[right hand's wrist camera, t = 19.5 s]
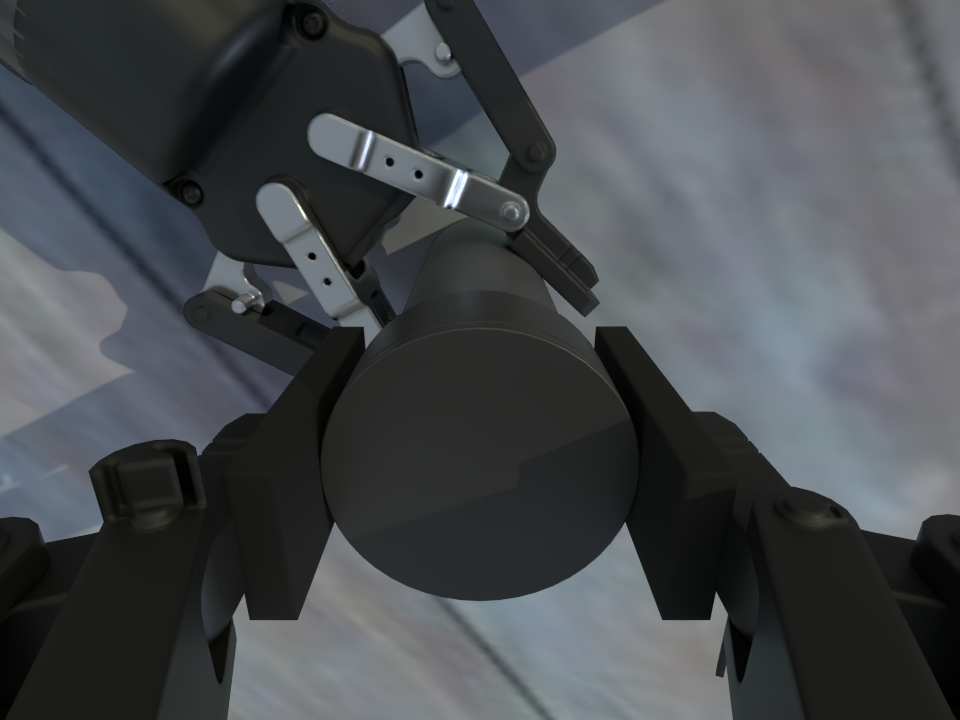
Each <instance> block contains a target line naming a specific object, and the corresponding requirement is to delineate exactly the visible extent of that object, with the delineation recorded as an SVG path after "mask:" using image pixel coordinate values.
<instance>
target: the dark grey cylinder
mask: <svg viewBox="0 0 960 720" xmlns="http://www.w3.org/2000/svg"><path fill="white" fill-rule="evenodd" d="M473 290H486V291H500V292H505V293H510V294H515V295H519V296H522V297H525V298H528V299H531V300H534V301H536V302H538V303H541V304H543V305H545V306H547V307H549V308H551V309H552V310H554V311H555V312H557V310H556V307H555V305H554V303H553V301H552V298H551V296H550V294H549V291H548V289H547V287H546V285H545V282H544V280H543V278H542V277H541V276H540V275H539V274H538V273H537V272H536V271H535V270H534V268H533V267H531V266H530V265H529V264H528V263H527V262H526V261H525V260H523V259H522V258H521V257H520V256H519V255H518V254H517V253H516V252H515V251H514V250H513V249H512V248H511V247H510V246H509V244H508V240H507V237H506V233H505V232H504V231H503V230H500V229H498V228H496V227H493V226H491V225H489V224H486V223H484V222H482V221H479V220H477V219H475V218H472V217H469V218H465V219H462V220H459V221H457V222H455V223H453V224H451V225H450V226H448V227H447V228H446V229H444V230H443V231H442V232H441V233H440V234H439V236H438V237H437V238H436V239H435V241H434V243H433V244H432V246H431V248H430V251H429V253H428V255H427V257H426V260H425V262H424V264H423V266H422V269H421V271H420V273H419V275H418V278H417V280H416V282H415V285H414V287H413V289H412V291H411V294H410V296H409V298H408V300H407V303H406V305H405V307H404V309H403V312H405V311H406V310H408V309H409V308H411V307H413V306H415V305H417V304H420V303H422V302H424V301H426V300H429V299H432V298H435V297H438V296H441V295H445V294H450V293H455V292H460V291H473ZM403 312H402V313H403ZM557 313H558V312H557Z"/></svg>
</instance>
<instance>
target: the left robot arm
mask: <svg viewBox="0 0 960 720" xmlns="http://www.w3.org/2000/svg"><path fill="white" fill-rule="evenodd" d="M0 63H1V64H2V65H3V66H4V67H5V68H7V69H8V70H9V71H11V72H12V73H13V74H15V75H16V76H18V77H19V78H21V79H22V80H24V81H25V82H27V83H29V84H31V85H33V86H35V87H36V88H37V89H38V90H40V91H41V92H42V93H43V94H45V95H46V96H47V97H48V98H50V99H51V100H52V101H53V102H54V103H56V104H57V105H58V106H59V107H61V108H62V109H63V110H64V111H66V112H67V113H68V114H69V115H70V116H72V117H73V118H74V119H76V120H77V121H78V122H79V123H81V124H82V125H83V126H84V127H85V128H87V129H88V130H89V131H90V132H92V133H93V134H94V135H95V136H96V137H98V138H99V139H100V140H101V141H103V142H104V143H105V144H106V145H108V146H109V147H110V148H111V149H112V150H114V151H115V152H116V153H117V154H119V155H120V156H121V157H122V158H124V159H125V160H126V161H127V162H128V163H130V164H131V165H132V166H133V167H135V168H136V169H137V170H138V171H139V172H141V173H142V174H143V175H144V176H146V177H147V178H148V179H149V180H151V181H152V182H153V183H154V184H155V185H157V186H158V187H159V188H161V189H162V190H163V191H165V192H166V193H168V194H169V195H171V196H172V197H174V198H175V199H177V200H178V201H180V202H181V203H183V204H184V205H186V206H187V207H188V208H189V209H190V210H192V211H193V213H194V214H195V215H196V216H197V217H198V219H199V220H200V222H201V223H202V225H203V226H204V228H205V230H206V232H207V234H208V236H209V238H210V240H211V242H212V243H213V245H214V246H215V247H216V248H217V249H218V252H217V254H216V257H215V259H214V262H213V265H212V267H211V270H210V272H209V275H208V277H207V280H206V282H205V285H204V287H203V290H202V291H201V292H199V293H198V294H197V295H195V296H194V297H192V298H190V299H189V300H187V301H186V303H185V305H184V309H183V312H184V316H185V319H186V320H187V322H188V323H189V324H190V325H191V326H192V327H194V328H196V329H198V330H200V331H202V332H204V333H206V334H208V335H210V336H212V337H214V338H216V339H218V340H220V341H222V342H224V343H226V344H229V345H231V346H233V347H235V348H237V349H239V350H241V351H243V352H245V353H247V354H249V355H251V356H253V357H255V358H257V359H259V360H261V361H263V362H265V363H268V364H270V365H272V366H274V367H276V368H278V369H280V370H282V371H284V372H286V373H288V374H290V375H292V376H294V377H295V376H296V375H297V373H298V372H299V371H300V370H301V368H302V367H303V366H304V364H305V363H306V362H307V360H308V359H309V358H310V357H311V355H312V354H313V353H314V351H315V350H316V349H317V348H318V346H319V345H320V344H321V342H322V341H323V340H324V338H325V337H326V336H327V335H328V333H329V332H330V331H331V329H330V328H328V327H326V326H324V325H322V324H320V323H318V322H316V321H314V320H312V319H310V318H308V317H306V316H304V315H302V314H300V313H298V312H297V311H295V310H293V309H291V308H289V307H287V306H285V305H283V304H281V303H279V302H277V301H275V300H273V293H272V290H271V288H270V287H269V285H268V284H267V283H266V282H264V281H263V280H261V279H260V278H259V277H258V276H257V274H256V273H255V271H254V268H253V264H261V265H269V266H277V267H285V268H293V269H299V271H300V272H301V274H302V276H303V277H304V279H305V280H306V282H307V283H308V285H309V287H310V288H311V290H312V291H313V293H314V295H315V296H316V298H317V299H318V301H319V303H320V304H321V306H322V307H323V309H324V311H325V312H326V313H327V315H328V316H329V317H330V318H332V319H333V320H336V321H337V322H338V323H339V324H340V326H341V327H364V334H365V346H366V348H367V347H368V345H369V344H370V342H371V341H372V340H373V339H374V338H375V336H376V335H377V334H378V333H379V332H380V331H381V330H382V329H383V328H384V327H385V326H386V325H387V324H388V323H390V322H391V321H392V320H393V319H394V318H396V317H397V315H396V313H395V312H394V310H393V308H392V307H391V305H390V303H389V301H388V300H387V298H386V296H385V295H384V293H383V291H382V289H381V287H380V282H379V279H378V276H377V274H376V272H375V270H374V268H373V267H372V265H371V263H370V262H369V260H368V258H367V256H366V254H367V253H368V252H369V251H370V249H371V248H372V247H373V246H374V245H375V244H376V242H377V241H378V240H379V237H380V235H381V233H382V231H383V229H384V227H385V224H386V223H387V222H389V221H390V220H392V219H393V218H395V217H396V216H398V215H399V214H400V213H401V212H402V211H403V210H404V209H405V208H407V206H408V205H409V204H410V203H411V202H412V201H413V199H414V198H415V197H416V196H418V197H420V198H422V199H425V200H427V201H429V202H432V203H434V204H436V205H439V206H441V207H444V208H448V209H453V210H456V211H458V212H460V213H463V214H465V215H468V216H470V217H472V218H475V219H477V220H479V221H482V222H484V223H486V224H489V225H491V226H493V227H496V228H498V229H500V230H503V231H504V232H505V233H506V237H507V240H508V244H509V246H510V247H511V248H512V249H513V250H514V251H515V252H516V253H517V254H518V255H519V256H520V257H521V258H522V259H523V260H525V261H526V262H527V263H528V264H529V265H530V266H531V267H533V268H534V270H535V271H536V272H537V273H538V274H539V275H540V276H541V277H542V278H543V279H544V280H546V281H547V282H548V283H549V284H550V285H551V286H552V287H553V288H554V289H555V290H556V291H557V292H558V293H559V294H560V295H561V296H562V297H563V298H564V299H565V300H566V301H568V302H569V303H570V304H571V305H572V306H573V307H574V308H575V309H576V310H577V311H578V312H579V313H580V314H581V315H583V316H584V317H586V316H587V315H588V314H589V313H590V312H591V311H592V310H593V309H594V308H595V307H597V306H598V305H599V304H600V302H599V301H598V299H597V298H596V297H595V295H594V294H593V293H592V291H591V290H590V289H591V288H592V287H593V286H594V285H595V284H596V283H597V282H598V281H599V279H598V277H597V274H596V272H595V269H594V267H593V265H592V264H591V263H590V262H589V261H588V260H587V259H586V258H585V257H584V256H583V255H582V254H581V253H580V252H579V251H578V250H577V249H576V248H575V247H574V246H573V245H572V244H571V243H570V242H569V241H568V240H567V239H566V238H565V237H564V236H563V235H562V234H561V233H560V232H559V231H558V230H557V229H556V228H555V227H554V226H553V225H552V224H551V223H550V222H549V221H548V220H547V219H546V218H545V217H544V216H543V215H542V214H541V213H540V211H539V208H538V204H537V196H538V192H539V189H540V187H541V184H542V182H543V180H544V178H545V175H546V173H547V171H548V169H549V168H550V167H551V166H552V164H553V162H554V160H555V157H556V146H555V143H554V141H553V139H552V138H551V136H550V134H549V132H548V131H547V129H546V127H545V125H544V124H543V122H542V120H541V118H540V117H539V115H538V113H537V111H536V110H535V108H534V106H533V104H532V103H531V101H530V99H529V97H528V96H527V94H526V92H525V90H524V89H523V87H522V85H521V83H520V82H519V80H518V78H517V76H516V75H515V73H514V71H513V69H512V68H511V66H510V64H509V62H508V61H507V59H506V57H505V55H504V54H503V52H502V50H501V48H500V47H499V45H498V43H497V41H496V40H495V38H494V36H493V34H492V33H491V31H490V29H489V27H488V26H487V24H486V22H485V20H484V19H483V17H482V15H481V13H480V12H479V10H478V8H477V6H476V5H475V3H474V1H473V0H424V1H423V2H422V3H420V4H419V5H418V6H417V7H415V8H414V9H413V10H412V11H410V12H409V13H408V14H407V15H405V16H404V17H403V18H402V19H400V20H399V21H398V22H397V23H395V24H394V25H393V26H391V27H390V28H389V29H388V30H386V31H385V32H384V33H383V34H381V35H378V34H377V33H375V32H373V31H371V30H368V29H364V28H360V27H357V26H354V25H351V24H349V23H347V22H345V21H343V20H341V19H340V18H339V17H338V16H336V15H335V14H334V13H333V12H332V11H331V10H330V9H329V8H328V7H327V6H326V5H325V4H324V3H323V2H322V1H321V0H0ZM412 63H418V64H421V65H424V66H425V67H427V68H428V69H429V70H430V71H431V73H432V74H433V75H434V76H435V77H437V78H438V79H441V80H452V79H455V78H456V77H458V76H459V75H460V74H462V75H463V76H464V78H465V80H466V81H467V83H468V85H469V86H470V88H471V89H472V91H473V93H474V94H475V96H476V98H477V99H478V101H479V103H480V104H481V106H482V108H483V109H484V111H485V113H486V114H487V116H488V118H489V119H490V121H491V123H492V124H493V126H494V128H495V129H496V131H497V133H498V134H499V136H500V138H501V139H502V141H503V143H504V144H505V146H506V148H507V149H508V151H509V153H510V155H509V158H508V160H507V162H506V165H505V167H504V170H503V172H502V174H501V177H500V179H499V181H498V180H496V179H493V178H491V177H489V176H487V175H484V174H482V173H480V172H477V171H475V170H473V169H471V168H469V167H467V166H465V165H463V164H461V163H459V162H457V161H454V160H452V159H450V158H448V157H445V156H443V155H441V154H439V153H436V152H434V151H432V150H429V149H427V148H425V147H423V146H420V143H419V139H418V134H417V130H416V125H415V120H414V116H413V111H412V107H411V102H410V98H409V93H408V89H407V84H406V79H405V75H404V70H403V67H404V66H406V65H408V64H412ZM328 278H329V279H331V281H329V280H328Z"/></svg>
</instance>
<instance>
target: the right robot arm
mask: <svg viewBox="0 0 960 720" xmlns="http://www.w3.org/2000/svg"><path fill="white" fill-rule="evenodd" d="M365 350H366V346H365V334H364V327H333V328H332V329H331V331H330V332H329V333H328V335H327V336H326V337H325V338H324V340H323V341H322V342H321V344H320V345H319V346H318V348H317V349H316V350H315V351H314V353H313V354H312V355H311V357H310V358H309V359H308V360H307V362H306V363H305V364H304V366H303V367H302V368H301V370H300V371H299V372H298V373H297V375H296V376H295V377H294V379H293V380H292V381H291V383H290V384H289V385H288V386H287V388H286V389H285V390H284V392H283V393H282V394H281V396H280V397H279V398H278V399H277V401H276V402H275V403H274V405H273V406H272V407H271V409H270V410H269V411H268V412H267V414H245V415H243V416H241V417H239V418H238V419H236V420H234V421H233V422H231V423H229V424H227V425H226V426H225V427H224V428H223V429H222V430H221V431H220V432H219V433H218V435H217V436H216V437H215V438H214V439H213V442H212V443H210V444H209V445H208V446H207V447H206V448H205V449H204V450H203V452H202V455H199V456H197V452H196V448H195V447H194V446H193V445H191V444H190V443H188V442H185V441H180V440H174V439H168V440H153V441H148V442H144V443H139V444H134V445H132V446H129V447H126V448H123V449H121V450H118V451H115V452H113V453H112V454H110V455H108V456H106V457H105V458H103V459H101V460H100V461H98V462H97V463H96V464H95V465H94V466H93V467H92V468H91V469H90V470H89V474H90V478H91V481H92V484H93V488H94V491H95V494H96V497H97V501H98V504H99V507H100V511H101V514H102V517H103V520H104V523H103V525H102V527H101V529H100V531H99V532H97V533H93V534H89V535H84V536H78V537H73V538H68V539H63V540H58V541H53V542H48V543H44V540H43V537H42V534H41V531H40V529H39V526H38V524H37V523H35V522H34V521H32V520H31V519H29V518H20V517H8V518H1V519H0V720H227V716H228V708H229V700H230V691H231V683H232V675H233V666H234V658H235V650H236V641H237V639H236V632H235V627H234V622H233V617H232V616H233V614H234V612H235V610H236V608H237V606H238V604H239V602H240V600H241V598H242V597H243V595H244V594H245V598H246V603H247V608H248V613H249V618H250V620H298V617H299V615H300V612H301V609H302V607H303V604H304V601H305V599H306V596H307V594H308V591H309V588H310V586H311V583H312V580H313V578H314V575H315V572H316V570H317V567H318V564H319V562H320V559H321V556H322V554H323V551H324V548H325V546H326V543H327V541H328V538H329V535H330V533H331V530H332V527H333V525H334V522H335V520H334V518H333V517H332V515H331V513H330V510H329V507H328V504H327V502H326V499H325V496H324V491H323V487H322V482H321V472H320V454H321V445H322V439H323V436H324V432H325V428H326V424H327V422H328V420H329V417H330V415H331V413H332V411H333V408H334V406H335V404H336V402H337V401H338V399H339V397H340V395H341V393H342V391H343V389H344V388H345V386H346V384H347V382H348V380H349V378H350V376H351V375H352V373H353V371H354V369H355V367H356V365H357V364H358V362H359V360H360V358H361V356H362V355H363V353H364V352H365ZM594 350H595V351H596V353H597V355H598V356H599V358H600V360H601V362H602V363H603V365H604V367H605V369H606V371H607V373H608V374H609V376H610V378H611V380H612V382H613V384H614V386H615V387H616V389H617V391H618V393H619V395H620V397H621V399H622V400H623V402H624V404H625V406H626V408H627V410H628V413H629V415H630V417H631V419H632V422H633V424H634V428H635V432H636V435H637V439H638V444H639V453H640V473H639V482H638V487H637V492H636V496H635V499H634V502H633V505H632V507H631V510H630V513H629V515H628V517H627V519H626V520H625V522H626V525H627V527H628V530H629V533H630V535H631V538H632V541H633V543H634V546H635V549H636V551H637V554H638V557H639V559H640V562H641V564H642V567H643V570H644V572H645V575H646V578H647V580H648V583H649V586H650V588H651V591H652V594H653V596H654V599H655V602H656V604H657V607H658V610H659V612H660V615H661V617H662V620H710V618H711V613H712V608H713V603H714V598H715V593H716V592H717V594H718V596H719V598H720V600H721V601H722V603H723V605H724V607H725V609H726V611H727V613H728V617H727V622H726V627H725V631H724V636H723V640H722V645H721V650H720V654H719V659H718V663H717V669H716V676H719V677H723V676H724V672H725V667H726V665H727V673H728V681H729V690H730V698H731V706H732V715H733V720H960V516H957V515H950V514H945V515H935V516H931V517H929V518H928V519H926V520H925V521H923V523H922V526H921V528H920V531H919V534H918V537H917V540H916V541H915V540H910V539H905V538H900V537H895V536H890V535H884V534H879V533H874V532H869V531H865V530H861V529H860V528H859V526H858V524H857V522H856V520H855V519H854V518H853V517H852V516H851V514H850V513H849V512H848V511H847V510H846V509H845V508H843V507H842V506H840V505H839V504H837V503H836V502H835V501H833V500H832V499H829V498H827V497H825V496H822V495H820V494H818V493H815V492H813V491H809V490H805V489H801V488H797V487H791V486H790V485H789V484H788V483H787V482H786V481H785V480H784V478H783V477H782V476H781V475H780V474H779V473H778V472H777V470H776V469H775V468H774V467H773V466H772V465H771V464H770V463H769V461H768V460H767V459H766V458H765V457H764V456H763V455H762V454H761V453H758V449H757V448H756V447H755V446H754V445H753V443H752V442H751V441H748V438H747V437H746V436H745V434H744V433H743V432H742V431H741V430H740V429H739V428H738V427H737V425H736V424H734V423H733V422H731V421H729V420H728V419H726V418H724V417H722V416H721V415H719V414H717V413H715V412H692V411H691V410H690V409H689V407H688V406H687V405H686V403H685V402H684V401H683V400H682V398H681V397H680V396H679V394H678V393H677V392H676V390H675V389H674V388H673V387H672V385H671V384H670V383H669V381H668V380H667V379H666V377H665V376H664V375H663V374H662V372H661V371H660V370H659V368H658V367H657V366H656V364H655V363H654V362H653V361H652V359H651V358H650V357H649V355H648V354H647V353H646V351H645V350H644V349H643V348H642V346H641V345H640V344H639V342H638V341H637V340H636V338H635V337H634V336H633V335H632V333H631V332H630V331H629V329H628V328H627V327H596V334H595V346H594Z"/></svg>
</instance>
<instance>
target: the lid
mask: <svg viewBox="0 0 960 720" xmlns="http://www.w3.org/2000/svg"><path fill="white" fill-rule="evenodd" d="M320 472H321V482H322V487H323V491H324V496H325V499H326V502H327V504H328V507H329V510H330V513H331V515H332V517H333V518H334V520H335V522H336V524H337V526H338V528H339V529H340V531H341V532H342V534H343V535H344V536H345V538H346V539H347V541H348V542H349V543H350V544H351V545H352V546H353V548H354V549H355V550H356V551H357V552H358V553H359V554H360V555H361V556H362V557H363V558H364V559H366V560H367V561H368V562H369V563H370V564H372V565H373V566H374V567H375V568H377V569H378V570H380V571H381V572H383V573H384V574H386V575H387V576H389V577H390V578H392V579H394V580H396V581H398V582H400V583H402V584H404V585H406V586H408V587H411V588H414V589H417V590H419V591H422V592H425V593H428V594H432V595H436V596H440V597H445V598H451V599H458V600H471V601H490V600H502V599H509V598H515V597H520V596H524V595H528V594H532V593H535V592H538V591H541V590H543V589H546V588H549V587H551V586H554V585H556V584H558V583H560V582H562V581H564V580H566V579H568V578H570V577H571V576H573V575H574V574H576V573H577V572H579V571H580V570H582V569H583V568H585V567H586V566H587V565H588V564H590V563H591V562H592V561H593V560H594V559H596V558H597V557H598V556H599V555H600V554H601V553H602V552H603V551H604V550H605V549H606V548H607V547H608V545H609V544H610V543H611V542H612V541H613V539H614V538H615V536H616V535H617V534H618V532H619V531H620V529H621V528H622V526H623V524H624V522H625V520H626V519H627V517H628V515H629V513H630V510H631V507H632V505H633V502H634V499H635V496H636V492H637V487H638V482H639V473H640V453H639V444H638V439H637V435H636V432H635V428H634V424H633V422H632V419H631V417H630V415H629V413H628V410H627V408H626V406H625V404H624V402H623V400H622V399H621V397H620V395H619V393H618V391H617V389H616V387H615V386H614V384H613V382H612V380H611V378H610V376H609V374H608V373H607V371H606V369H605V367H604V365H603V363H602V362H601V360H600V358H599V356H598V355H597V353H596V351H595V350H594V348H593V347H592V345H591V344H590V342H589V341H588V340H587V339H586V338H585V336H584V335H583V334H582V333H581V332H580V331H579V330H578V329H577V328H576V327H575V326H574V325H573V324H572V323H570V322H569V321H568V320H567V319H566V318H564V317H563V316H561V315H560V314H558V313H557V312H555V311H554V310H552V309H551V308H549V307H547V306H545V305H543V304H541V303H538V302H536V301H534V300H531V299H528V298H525V297H522V296H519V295H515V294H510V293H505V292H500V291H486V290H473V291H460V292H455V293H450V294H445V295H441V296H438V297H435V298H432V299H429V300H426V301H424V302H422V303H420V304H417V305H415V306H413V307H411V308H409V309H408V310H406V311H405V312H403V313H402V314H400V315H399V316H397V317H396V318H394V319H393V320H392V321H391V322H390V323H388V324H387V325H386V326H385V327H384V328H383V329H382V330H381V331H380V332H379V333H378V334H377V335H376V336H375V338H374V339H373V340H372V341H371V342H370V344H369V345H368V347H367V348H366V350H365V352H364V353H363V355H362V356H361V358H360V360H359V362H358V364H357V365H356V367H355V369H354V371H353V373H352V375H351V376H350V378H349V380H348V382H347V384H346V386H345V388H344V389H343V391H342V393H341V395H340V397H339V399H338V401H337V402H336V404H335V406H334V408H333V411H332V413H331V415H330V417H329V420H328V422H327V424H326V428H325V432H324V436H323V439H322V445H321V454H320Z"/></svg>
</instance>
